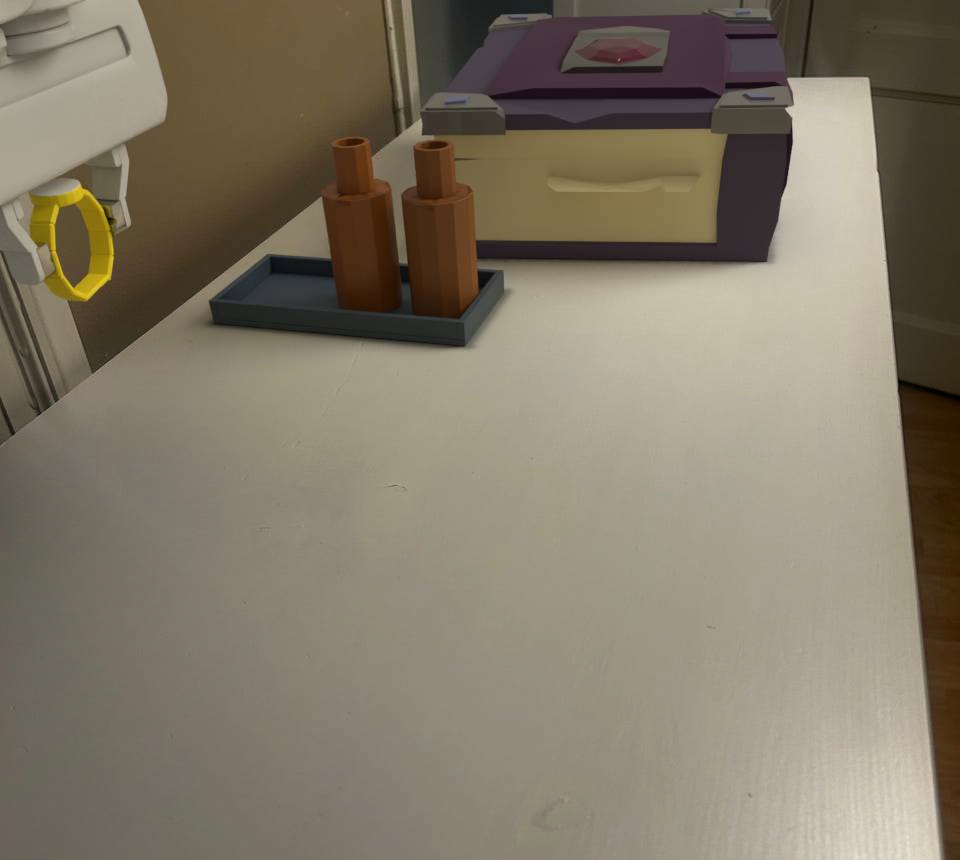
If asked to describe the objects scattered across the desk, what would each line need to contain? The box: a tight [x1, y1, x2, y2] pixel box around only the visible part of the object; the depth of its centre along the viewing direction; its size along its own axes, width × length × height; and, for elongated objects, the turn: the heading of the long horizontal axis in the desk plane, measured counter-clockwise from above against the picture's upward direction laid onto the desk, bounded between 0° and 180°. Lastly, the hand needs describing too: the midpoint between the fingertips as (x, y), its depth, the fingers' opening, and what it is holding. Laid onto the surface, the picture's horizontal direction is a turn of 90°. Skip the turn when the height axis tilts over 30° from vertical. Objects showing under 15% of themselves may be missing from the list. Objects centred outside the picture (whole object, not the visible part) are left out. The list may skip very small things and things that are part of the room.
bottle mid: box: [320, 136, 403, 313], centre depth 81 cm, size 6×6×14 cm
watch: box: [27, 177, 115, 303], centre depth 55 cm, size 6×3×6 cm, turn 168°
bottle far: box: [400, 139, 479, 319], centre depth 80 cm, size 6×6×14 cm
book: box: [419, 7, 795, 262], centre depth 103 cm, size 33×45×14 cm
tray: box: [208, 253, 505, 347], centre depth 86 cm, size 23×11×2 cm, turn 72°
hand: (76, 254), depth 56 cm, fingers closed on watch, 6 cm apart
